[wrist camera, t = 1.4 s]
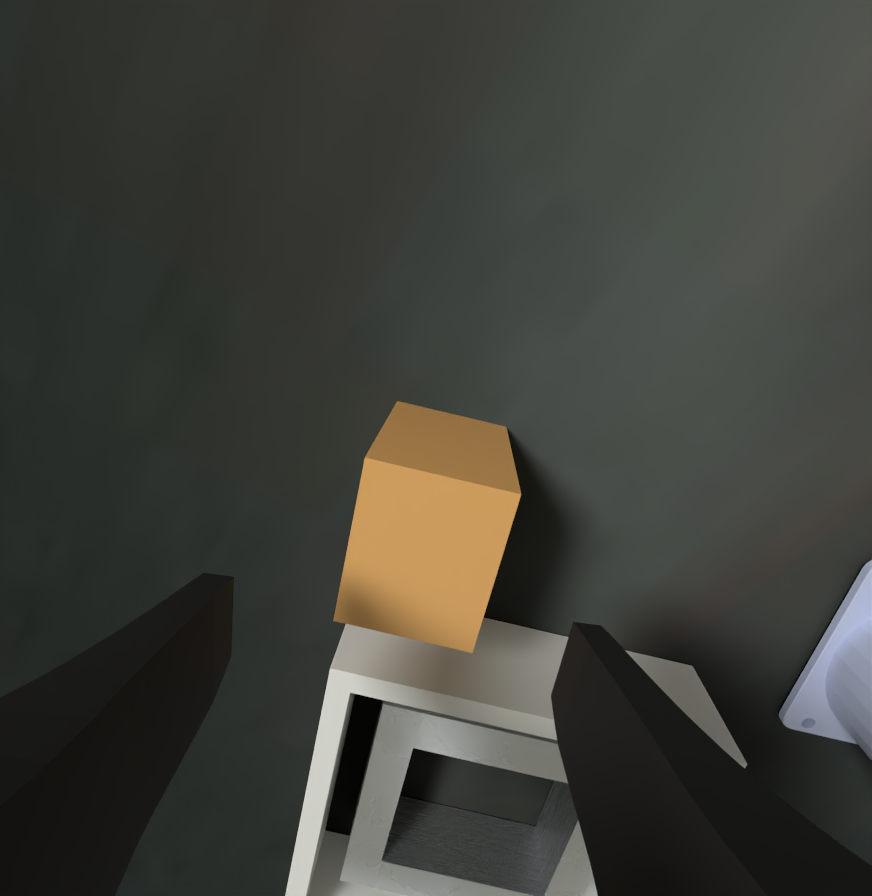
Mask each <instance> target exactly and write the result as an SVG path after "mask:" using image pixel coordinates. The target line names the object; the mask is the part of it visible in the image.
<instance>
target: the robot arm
mask: <svg viewBox="0 0 872 896" xmlns="http://www.w3.org/2000/svg"><path fill="white" fill-rule="evenodd" d="M233 582H234V577H230V576H223V575H215V574H208V573H203V574H202V575H200V576H199V577H197V578H196V579H194V580H193V581H191V582H190V583H188V584H187V585H185V586H184V587H182V588H181V589H179V590H178V591H176V592H175V593H174V594H172V595H171V596H169V597H168V598H166V599H165V600H163V601H162V602H160V603H159V604H158V605H156V606H155V607H153V608H152V609H150V610H149V611H147V612H146V613H144V614H143V615H141V616H140V617H138V618H137V619H135V620H134V621H132V622H131V623H129V624H128V625H126V626H125V627H123V628H122V629H120V630H118V631H117V632H115V633H114V634H112V635H111V636H109V637H107V638H106V639H104V640H102V641H101V642H99V643H97V644H96V645H94V646H92V647H91V648H89V649H87V650H86V651H84V652H82V653H81V654H79V655H78V656H76V657H74V658H73V659H71V660H69V661H68V662H66V663H64V664H62V665H61V666H59V667H57V668H55V669H54V670H52V671H50V672H48V673H46V674H44V675H43V676H41V677H39V678H37V679H35V680H33V681H32V682H30V683H28V684H26V685H24V686H22V687H20V688H18V689H16V690H14V691H12V692H10V693H8V694H6V695H4V696H2V697H0V896H115V894H116V892H117V889H118V887H119V885H120V882H121V880H122V878H123V876H124V873H125V871H126V869H127V867H128V864H129V862H130V860H131V857H132V855H133V853H134V851H135V848H136V846H137V844H138V842H139V840H140V838H141V836H142V834H143V832H144V830H145V828H146V826H147V824H148V822H149V820H150V818H151V816H152V814H153V812H154V810H155V809H156V807H157V805H158V803H159V801H160V799H161V798H162V796H163V794H164V792H165V790H166V788H167V786H168V785H169V783H170V781H171V779H172V777H173V775H174V774H175V772H176V770H177V768H178V766H179V764H180V763H181V761H182V759H183V757H184V755H185V753H186V752H187V750H188V748H189V746H190V744H191V742H192V740H193V739H194V737H195V735H196V733H197V731H198V729H199V727H200V726H201V724H202V722H203V720H204V718H205V716H206V714H207V712H208V710H209V709H210V707H211V705H212V703H213V700H214V698H215V695H216V693H217V691H218V688H219V686H220V683H221V681H222V678H223V676H224V673H225V670H226V668H227V665H228V663H229V660H230V658H231V645H232V614H233ZM551 701H552V708H553V716H554V723H555V729H556V736H557V742H558V747H559V751H560V755H561V758H562V762H563V766H564V770H565V773H566V777H567V781H568V785H569V788H570V792H571V795H572V799H573V803H574V806H575V810H576V814H577V817H578V821H579V825H580V828H581V832H582V835H583V839H584V843H585V846H586V850H587V854H588V857H589V861H590V865H591V869H592V873H593V877H594V882H595V886H596V890H597V895H598V896H872V866H871V865H869V864H868V863H866V862H865V861H864V860H862V859H861V858H859V857H858V856H857V855H855V854H854V853H852V852H851V851H849V850H848V849H847V848H845V847H844V846H842V845H841V844H840V843H838V842H837V841H836V840H834V839H833V838H832V837H830V836H829V835H828V834H826V833H825V832H824V831H822V830H821V829H820V828H818V827H817V826H816V825H814V824H813V823H812V822H810V821H809V820H808V819H806V818H805V817H804V816H802V815H801V814H800V813H798V812H797V811H796V810H795V809H793V808H792V807H791V806H790V805H788V804H787V803H786V802H784V801H783V800H782V799H781V798H779V797H778V796H777V795H776V794H775V793H773V792H772V791H771V790H770V789H769V788H767V787H766V786H765V785H764V784H763V783H761V782H760V781H759V780H758V779H757V778H755V777H754V776H753V775H752V774H751V773H750V772H748V771H747V770H746V769H745V768H744V767H742V766H741V765H740V764H739V763H738V762H737V761H736V760H734V759H733V758H732V757H731V756H730V755H729V754H728V753H727V752H725V751H724V750H723V749H722V748H721V747H720V746H719V745H718V744H717V743H716V742H715V741H714V740H713V739H711V738H710V737H709V736H708V735H707V734H706V733H705V732H704V731H703V730H702V729H701V728H700V727H699V726H698V725H697V724H696V723H695V722H693V721H692V720H691V719H690V718H689V717H688V716H687V715H686V714H685V713H684V712H683V711H682V710H681V709H680V708H679V707H678V706H677V705H676V704H675V703H674V702H673V701H672V700H671V699H670V697H669V696H668V695H667V694H666V693H665V692H664V691H663V690H662V689H661V688H660V687H659V686H658V685H657V684H656V683H655V682H654V681H653V680H652V679H651V678H650V677H649V676H648V675H647V673H646V672H645V671H644V670H643V669H642V668H641V667H640V666H639V665H638V664H637V663H636V662H635V661H634V660H633V658H632V657H631V656H630V655H629V654H628V653H627V652H626V651H625V650H624V649H623V648H622V647H621V646H620V645H619V643H618V642H617V641H616V640H615V639H614V638H613V637H612V636H611V635H610V634H609V633H608V632H607V631H606V630H605V629H604V628H603V627H602V626H600V625H592V624H584V623H577V622H573V624H572V628H571V631H570V634H569V638H568V641H567V644H566V647H565V651H564V654H563V657H562V660H561V664H560V667H559V670H558V673H557V677H556V680H555V683H554V687H553V690H552V693H551ZM779 718H780V720H781V721H782V723H783V724H784V725H785V726H786V727H787V728H790V729H793V730H798V731H802V732H806V733H811V734H815V735H819V736H824V737H828V738H832V739H837V740H841V741H845V742H850V743H854V744H858V745H859V746H860V747H861V748H862V750H863V751H864V752H865V753H866V755H867V756H868V757H869V758H870V759H871V761H872V560H871V561H869V562H868V563H866V564H865V565H864V567H863V568H862V570H861V571H860V573H859V575H858V576H857V578H856V580H855V582H854V583H853V585H852V587H851V589H850V590H849V592H848V594H847V596H846V597H845V599H844V601H843V602H842V604H841V606H840V608H839V609H838V611H837V613H836V615H835V616H834V618H833V620H832V621H831V623H830V625H829V627H828V628H827V630H826V632H825V634H824V635H823V637H822V639H821V640H820V642H819V644H818V646H817V647H816V649H815V651H814V653H813V654H812V656H811V658H810V659H809V661H808V663H807V665H806V666H805V668H804V670H803V672H802V673H801V675H800V677H799V679H798V680H797V682H796V684H795V685H794V687H793V689H792V691H791V692H790V694H789V696H788V698H787V699H786V701H785V703H784V704H783V706H782V708H781V710H780V712H779ZM805 719H806V720H805Z"/></svg>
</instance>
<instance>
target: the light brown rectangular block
mask: <svg viewBox="0 0 872 896" xmlns="http://www.w3.org/2000/svg"><path fill="white" fill-rule="evenodd" d="M520 497H521V491H520V486H519V482H518V477H517V473H516V468H515V463H514V459H513V454H512V450H511V445H510V441H509V436H508V432H507V427H504V426H500V425H496V424H492V423H488V422H483V421H479V420H475V419H471V418H466V417H462V416H458V415H454V414H450V413H445V412H441V411H437V410H433V409H428V408H424V407H420V406H416V405H412V404H407V403H403V402H399V401H397V403H396V405H395V406H394V408H393V410H392V411H391V413H390V415H389V417H388V418H387V420H386V422H385V424H384V425H383V427H382V429H381V431H380V432H379V434H378V436H377V438H376V439H375V441H374V443H373V444H372V446H371V448H370V450H369V451H368V453H367V455H366V457H365V460H364V465H363V470H362V476H361V481H360V486H359V491H358V496H357V501H356V507H355V512H354V517H353V522H352V527H351V532H350V538H349V543H348V548H347V553H346V558H345V564H344V569H343V574H342V579H341V584H340V589H339V595H338V600H337V605H336V610H335V615H334V621H337V622H341V623H345V624H349V625H354V626H358V627H362V628H367V629H371V630H375V631H380V632H384V633H388V634H393V635H397V636H401V637H405V638H410V639H414V640H418V641H423V642H427V643H431V644H436V645H440V646H444V647H449V648H453V649H457V650H461V651H466V652H470V653H473V650H474V647H475V643H476V640H477V637H478V634H479V630H480V627H481V624H482V621H483V617H484V614H485V611H486V608H487V604H488V601H489V598H490V595H491V591H492V588H493V585H494V582H495V578H496V575H497V572H498V569H499V565H500V562H501V559H502V556H503V552H504V549H505V546H506V543H507V539H508V536H509V533H510V530H511V526H512V523H513V520H514V517H515V513H516V510H517V507H518V504H519V500H520Z"/></svg>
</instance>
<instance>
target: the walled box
mask: <svg viewBox="0 0 872 896" xmlns="http://www.w3.org/2000/svg"><path fill="white" fill-rule="evenodd" d="M568 638H569V637H566V636H562V635H557V634H553V633H549V632H544V631H540V630H536V629H531V628H527V627H523V626H519V625H514V624H510V623H506V622H501V621H497V620H493V619H488V618H484V617H483V621H482V624H481V627H480V630H479V634H478V637H477V640H476V643H475V647H474V650H473V653H470V652H466V651H461V650H457V649H453V648H449V647H444V646H440V645H436V644H431V643H427V642H423V641H418V640H414V639H410V638H405V637H401V636H397V635H393V634H388V633H384V632H380V631H375V630H371V629H367V628H362V627H358V626H354V625H349V624H346V625H345V628H344V631H343V634H342V636H341V639H340V642H339V645H338V648H337V651H336V653H335V656H334V659H333V662H332V665H331V667H330V672H329V677H328V682H327V687H326V692H325V697H324V702H323V707H322V712H321V717H320V723H319V728H318V733H317V738H316V743H315V748H314V753H313V758H312V763H311V768H310V773H309V778H308V783H307V788H306V794H305V799H304V804H303V809H302V814H301V819H300V824H299V829H298V834H297V839H296V844H295V849H294V854H293V860H292V865H291V870H290V875H289V880H288V885H287V890H286V895H285V896H407V895H403V894H398V893H394V892H389V891H385V890H381V889H376V888H372V887H367V886H363V885H358V884H354V883H350V882H345V881H341V880H340V877H341V872H342V868H343V863H344V859H345V854H346V849H347V845H348V840H349V836H348V835H344V834H339V833H335V832H330V831H326V830H325V829H326V824H327V820H328V815H329V811H330V806H331V802H332V797H333V793H334V788H335V784H336V779H337V775H338V770H339V766H340V761H341V756H342V752H343V747H344V743H345V738H346V734H347V729H348V725H349V720H350V716H351V711H352V707H353V702H354V698H355V694H358V695H363V696H367V697H371V698H376V699H380V700H384V701H389V702H393V703H397V704H402V705H406V706H410V707H415V708H419V709H424V710H428V711H432V712H437V713H441V714H445V715H450V716H454V717H458V718H463V719H467V720H471V721H476V722H480V723H485V724H489V725H493V726H498V727H502V728H506V729H511V730H515V731H519V732H524V733H528V734H532V735H537V736H541V737H546V738H550V739H554V740H557V736H556V729H555V723H554V716H553V708H552V701H551V693H552V690H553V687H554V683H555V680H556V677H557V673H558V670H559V667H560V664H561V660H562V657H563V654H564V651H565V647H566V644H567V641H568ZM625 651H626V650H625ZM626 652H627V653H628V654H629V655H630V656H631V657H632V658H633V660H634V661H635V662H636V663H637V664H638V665H639V666H640V667H641V668H642V669H643V670H644V671H645V672H646V673H647V675H648V676H649V677H650V678H651V679H652V680H653V681H654V682H655V683H656V684H657V685H658V686H659V687H660V688H661V689H662V690H663V691H664V692H665V693H666V694H667V695H668V696H669V697H670V699H671V700H672V701H673V702H674V703H675V704H676V705H677V706H678V707H679V708H680V709H681V710H682V711H683V712H684V713H685V714H686V715H687V716H688V717H689V718H690V719H691V720H692V721H693V722H695V723H696V724H697V725H698V726H699V727H700V728H701V729H702V730H703V731H704V732H705V733H706V734H707V735H708V736H709V737H710V738H711V739H713V740H714V741H715V742H716V743H717V744H718V745H719V746H720V747H721V748H722V749H723V750H724V751H725V752H727V753H728V754H729V755H730V756H731V757H732V758H733V759H734V760H736V761H737V762H738V763H739V764H740V765H741V766H742V767H744V768H745V767H746V766H747V763H746V761H745V759H744V757H743V755H742V754H741V752H740V750H739V748H738V747H737V745H736V743H735V741H734V739H733V738H732V736H731V734H730V732H729V730H728V729H727V727H726V725H725V723H724V721H723V720H722V718H721V716H720V714H719V712H718V711H717V709H716V707H715V705H714V704H713V702H712V700H711V698H710V696H709V695H708V693H707V691H706V689H705V687H704V686H703V684H702V682H701V680H700V678H699V677H698V675H697V673H696V671H695V669H694V668H693V666H691V665H687V664H682V663H678V662H674V661H669V660H665V659H661V658H656V657H652V656H648V655H644V654H639V653H635V652H631V651H626ZM583 896H598V895H597V890H596V886H595V882H594V877H593V876H592V878H591V880H590V882H589V884H588V886H587V888H586V890H585V892H584V894H583Z"/></svg>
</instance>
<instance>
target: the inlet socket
mask: <svg viewBox="0 0 872 896" xmlns="http://www.w3.org/2000/svg"><path fill="white" fill-rule="evenodd" d="M413 748H415V749H420V750H424V751H428V752H433V753H437V754H441V755H446V756H450V757H455V758H459V759H463V760H468V761H472V762H476V763H481V764H485V765H490V766H494V767H498V768H503V769H507V770H511V771H516V772H520V773H525V774H529V775H533V776H538V777H542V778H546V779H551V780H554V782H553V784H552V786H551V789H550V791H549V794H548V796H547V799H546V801H545V803H544V806H543V808H542V811H541V813H540V815H539V818H538V820H537V823H536V825H535V826H532V825H528V824H524V823H519V822H515V821H510V820H506V819H502V818H497V817H493V816H488V815H484V814H480V813H475V812H471V811H466V810H462V809H458V808H453V807H449V806H444V805H440V804H436V803H431V802H427V801H422V800H418V799H414V798H409V797H405V796H400V793H401V790H402V786H403V782H404V779H405V775H406V772H407V768H408V765H409V761H410V758H411V754H412V750H413ZM592 876H593V873H592V869H591V865H590V861H589V857H588V854H587V850H586V846H585V843H584V839H583V835H582V832H581V828H580V825H579V821H578V817H577V814H576V810H575V806H574V803H573V799H572V795H571V792H570V788H569V785H568V781H567V777H566V773H565V770H564V766H563V762H562V758H561V755H560V751H559V747H558V742H557V740H554V739H550V738H546V737H541V736H537V735H532V734H528V733H524V732H519V731H515V730H511V729H506V728H502V727H498V726H493V725H489V724H485V723H480V722H476V721H471V720H467V719H463V718H458V717H454V716H450V715H445V714H441V713H437V712H432V711H428V710H424V709H419V708H415V707H410V706H406V705H402V704H397V703H393V702H389V701H384V700H382V702H381V706H380V710H379V714H378V718H377V722H376V726H375V731H374V735H373V739H372V743H371V747H370V751H369V755H368V759H367V763H366V767H365V771H364V775H363V780H362V784H361V788H360V792H359V796H358V800H357V804H356V808H355V812H354V817H353V822H352V826H351V831H350V835H349V840H348V845H347V849H346V854H345V859H344V863H343V868H342V872H341V877H340V880H341V881H345V882H350V883H354V884H358V885H363V886H367V887H372V888H376V889H381V890H385V891H389V892H394V893H398V894H403V895H407V896H583V894H584V892H585V890H586V888H587V886H588V884H589V882H590V880H591V878H592Z"/></svg>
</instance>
